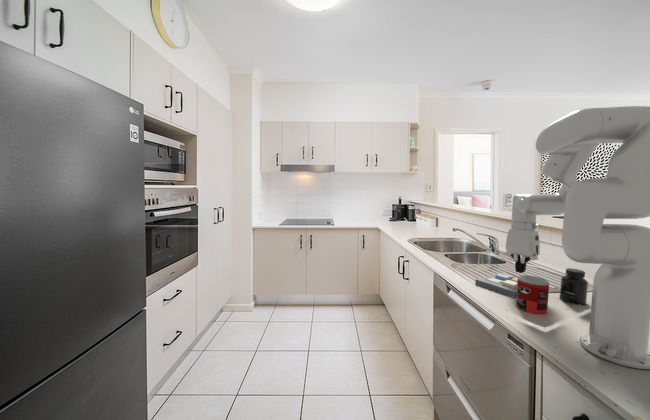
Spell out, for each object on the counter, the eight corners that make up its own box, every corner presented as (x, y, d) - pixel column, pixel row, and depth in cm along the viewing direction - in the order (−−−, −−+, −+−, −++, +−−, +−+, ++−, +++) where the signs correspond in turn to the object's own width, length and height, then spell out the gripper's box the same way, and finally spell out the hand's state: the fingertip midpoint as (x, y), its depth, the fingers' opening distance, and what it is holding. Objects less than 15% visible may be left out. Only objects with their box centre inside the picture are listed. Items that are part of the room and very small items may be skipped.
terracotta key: (522, 287, 100) (522, 282, 100) (510, 284, 104) (510, 279, 104) (528, 285, 102) (529, 280, 102) (516, 282, 106) (517, 277, 106)
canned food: (514, 304, 91) (516, 273, 90) (543, 309, 87) (546, 277, 86) (517, 313, 84) (519, 280, 83) (549, 319, 80) (552, 285, 79)
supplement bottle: (562, 305, 90) (565, 271, 89) (556, 298, 96) (558, 266, 95) (589, 309, 87) (592, 274, 86) (581, 301, 93) (584, 268, 92)
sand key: (513, 290, 98) (513, 285, 98) (501, 286, 102) (501, 281, 101) (520, 288, 100) (520, 283, 99) (508, 284, 103) (508, 279, 103)
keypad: (514, 300, 94) (515, 292, 94) (475, 286, 108) (475, 279, 108) (540, 292, 102) (540, 284, 102) (500, 280, 115) (500, 273, 115)
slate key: (506, 282, 106) (506, 277, 106) (495, 279, 110) (495, 274, 109) (512, 281, 108) (512, 276, 107) (501, 277, 111) (501, 273, 111)
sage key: (496, 287, 103) (497, 282, 103) (486, 284, 107) (486, 279, 107) (503, 285, 105) (503, 281, 105) (492, 282, 109) (492, 277, 109)
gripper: (551, 227, 96) (547, 276, 98) (508, 223, 110) (505, 265, 111) (540, 229, 93) (537, 279, 95) (497, 224, 106) (494, 268, 108)
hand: (520, 271), depth 103 cm, fingers closed
